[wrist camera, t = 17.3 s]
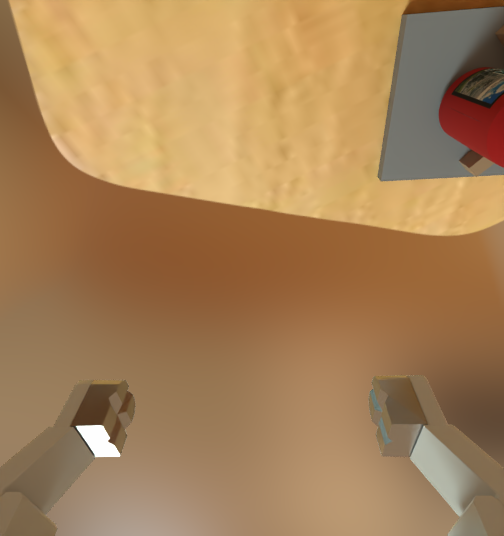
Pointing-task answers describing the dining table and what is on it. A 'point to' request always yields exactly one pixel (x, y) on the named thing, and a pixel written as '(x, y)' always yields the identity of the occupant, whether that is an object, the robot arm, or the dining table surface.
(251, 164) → the dining table surface
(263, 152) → the dining table surface
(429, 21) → the v stop plate
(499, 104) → the beverage can
